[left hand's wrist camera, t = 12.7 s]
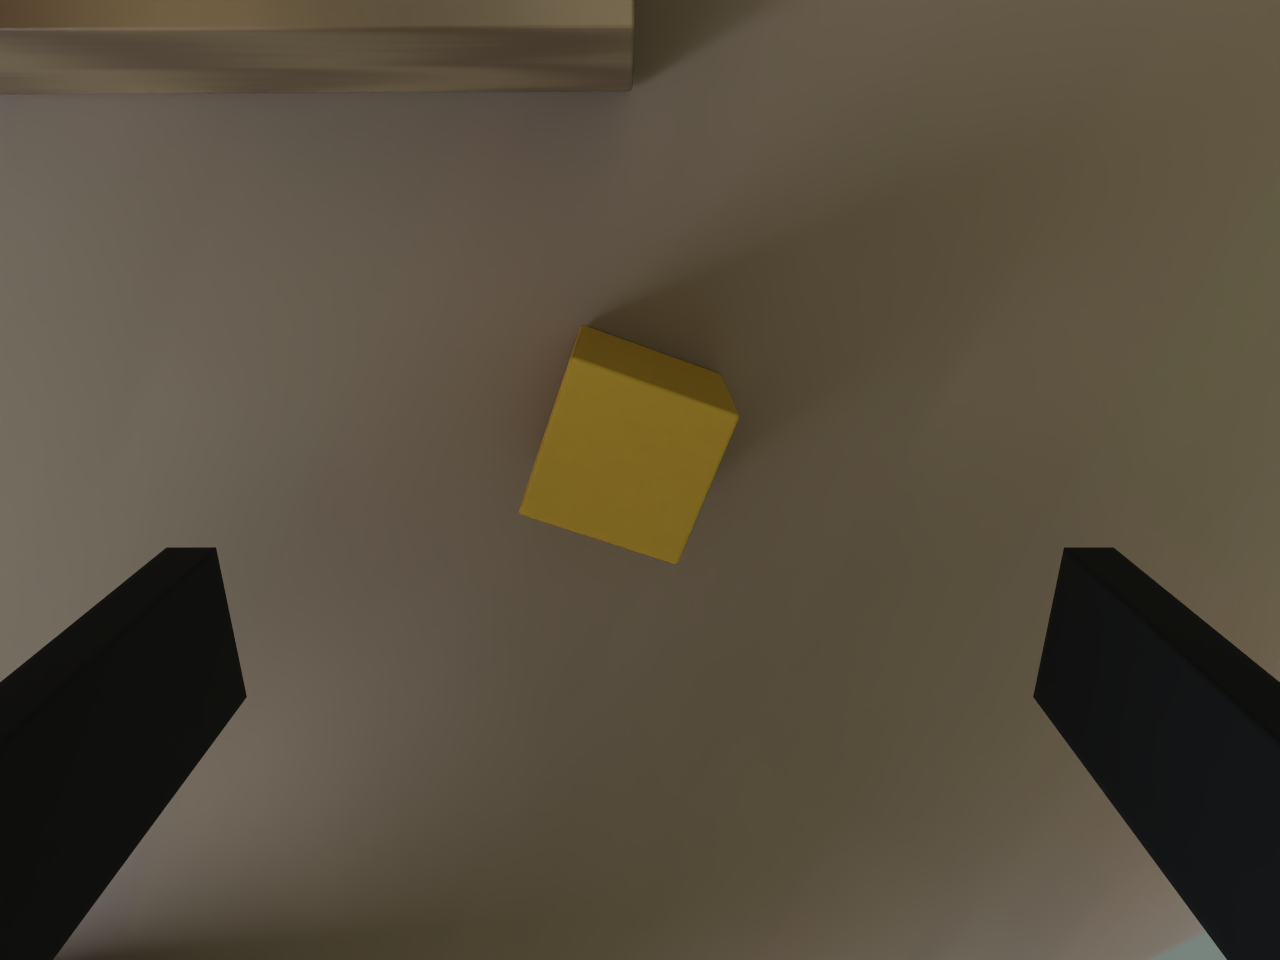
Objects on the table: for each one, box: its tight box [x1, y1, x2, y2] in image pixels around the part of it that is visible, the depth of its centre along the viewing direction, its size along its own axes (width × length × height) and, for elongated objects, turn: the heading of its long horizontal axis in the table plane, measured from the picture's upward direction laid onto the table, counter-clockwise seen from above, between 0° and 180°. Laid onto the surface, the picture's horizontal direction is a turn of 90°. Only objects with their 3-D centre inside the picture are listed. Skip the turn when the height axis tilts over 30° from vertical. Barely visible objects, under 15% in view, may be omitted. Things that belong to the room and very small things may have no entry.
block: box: [519, 325, 739, 564], centre depth 22 cm, size 4×4×4 cm
